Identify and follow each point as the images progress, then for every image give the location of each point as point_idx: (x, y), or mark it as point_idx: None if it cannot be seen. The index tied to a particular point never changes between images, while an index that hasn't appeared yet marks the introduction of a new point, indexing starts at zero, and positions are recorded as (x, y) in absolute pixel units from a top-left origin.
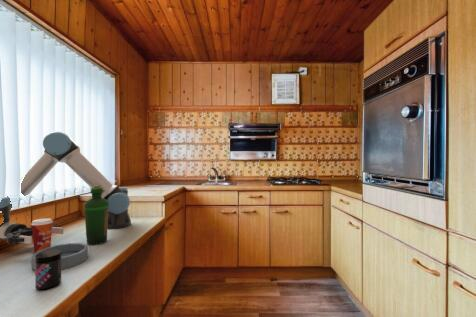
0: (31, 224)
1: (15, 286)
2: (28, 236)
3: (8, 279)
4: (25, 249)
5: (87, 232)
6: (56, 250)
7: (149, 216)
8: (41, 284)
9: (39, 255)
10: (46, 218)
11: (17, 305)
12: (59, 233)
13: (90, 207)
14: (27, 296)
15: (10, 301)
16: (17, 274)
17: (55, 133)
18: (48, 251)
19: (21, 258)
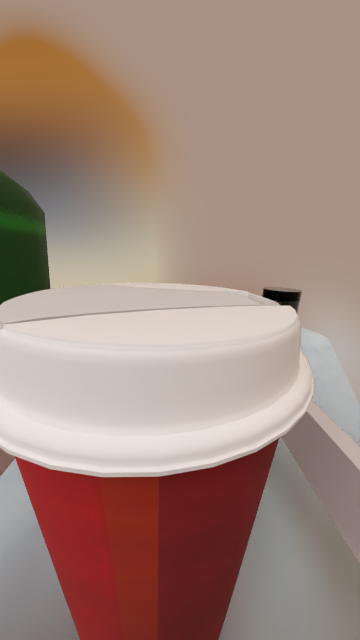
0: (307, 359)
1: (322, 363)
2: (315, 416)
3: (345, 394)
4: None
5: None
6: (268, 289)
7: None
8: None
9: (295, 290)
10: (14, 302)
11: (314, 336)
12: (12, 457)
13: (40, 218)
14: (302, 340)
15: (323, 344)
16: (325, 400)
17: None
18: (279, 290)
19: (331, 616)
